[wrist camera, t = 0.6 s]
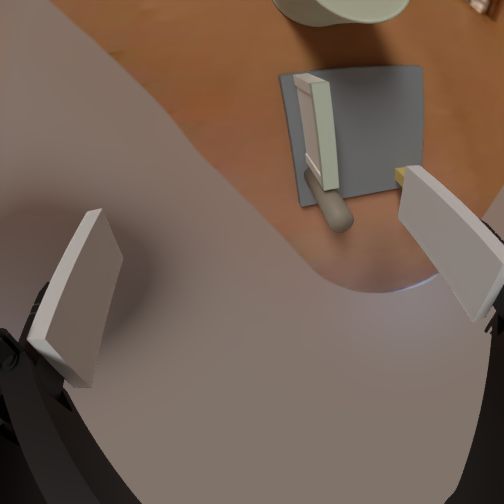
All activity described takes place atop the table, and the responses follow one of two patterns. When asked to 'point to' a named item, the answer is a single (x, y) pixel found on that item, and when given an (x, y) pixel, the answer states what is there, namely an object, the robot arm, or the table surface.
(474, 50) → the table surface
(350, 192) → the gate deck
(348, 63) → the table surface
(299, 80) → the white framed panel
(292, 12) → the can
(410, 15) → the table surface
